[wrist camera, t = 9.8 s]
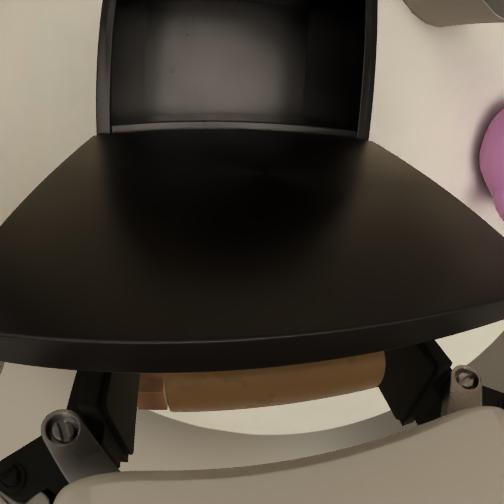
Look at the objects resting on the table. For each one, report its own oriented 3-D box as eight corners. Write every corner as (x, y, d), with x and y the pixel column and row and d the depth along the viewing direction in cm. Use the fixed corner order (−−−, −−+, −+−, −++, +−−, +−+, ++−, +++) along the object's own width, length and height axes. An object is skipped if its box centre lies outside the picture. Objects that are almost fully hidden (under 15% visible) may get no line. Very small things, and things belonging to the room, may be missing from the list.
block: (140, 387, 37) (138, 409, 34) (134, 368, 36) (131, 392, 32) (168, 387, 38) (167, 409, 35) (164, 369, 36) (163, 392, 33)
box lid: (-69, 323, 3) (33, 442, 6) (552, 285, 6) (474, 390, 8) (93, 135, 13) (104, 223, 16) (372, 141, 16) (355, 219, 18)
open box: (142, -3, 18) (112, -55, 9) (315, 5, 20) (377, -32, 11) (136, 124, 23) (96, 141, 14) (307, 126, 26) (367, 146, 16)
